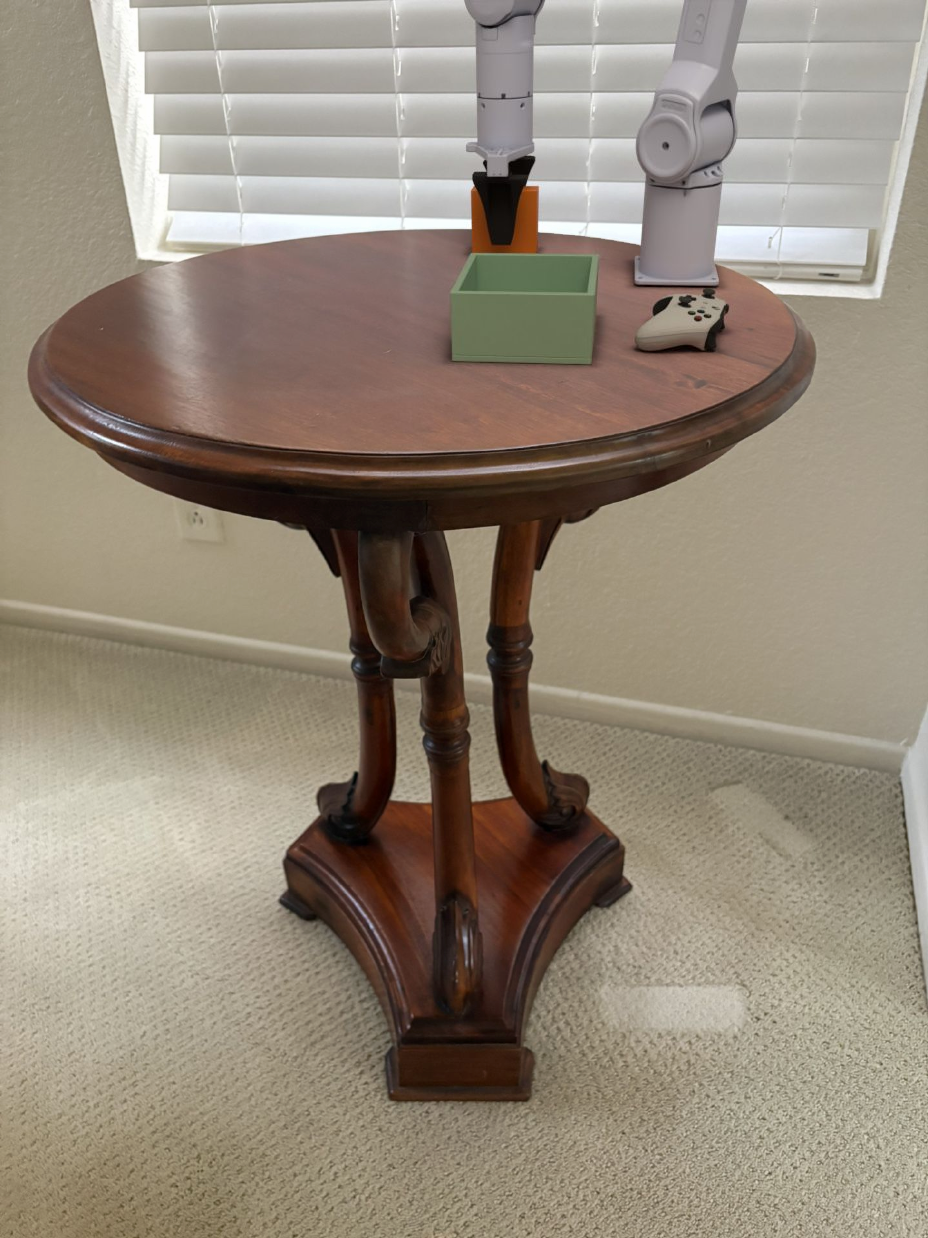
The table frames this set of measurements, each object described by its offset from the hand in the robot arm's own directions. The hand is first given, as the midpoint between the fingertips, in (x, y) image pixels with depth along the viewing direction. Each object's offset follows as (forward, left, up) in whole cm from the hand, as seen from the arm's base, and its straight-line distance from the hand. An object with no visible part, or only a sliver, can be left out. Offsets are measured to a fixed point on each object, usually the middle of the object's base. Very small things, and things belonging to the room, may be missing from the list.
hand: (505, 235), depth 109 cm
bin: (+29, +5, -2) cm, 29 cm away
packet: (0, 0, -2) cm, 2 cm away
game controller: (+28, +18, -2) cm, 33 cm away
